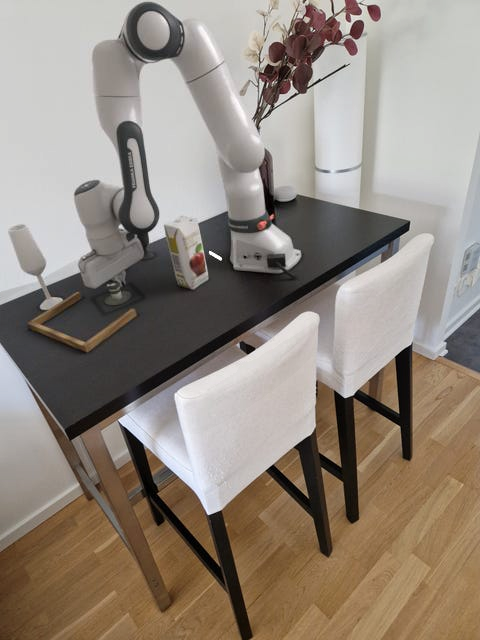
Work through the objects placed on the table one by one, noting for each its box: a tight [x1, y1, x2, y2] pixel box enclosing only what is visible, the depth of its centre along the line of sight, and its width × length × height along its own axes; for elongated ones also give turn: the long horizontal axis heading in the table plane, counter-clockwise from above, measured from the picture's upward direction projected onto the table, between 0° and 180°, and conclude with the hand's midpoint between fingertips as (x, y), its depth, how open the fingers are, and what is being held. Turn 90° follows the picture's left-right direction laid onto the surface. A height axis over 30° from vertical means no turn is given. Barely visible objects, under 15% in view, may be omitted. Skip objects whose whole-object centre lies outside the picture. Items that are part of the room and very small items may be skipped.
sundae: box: [137, 232, 155, 261], centre depth 141 cm, size 7×7×15 cm
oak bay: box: [26, 291, 138, 354], centre depth 115 cm, size 24×17×2 cm
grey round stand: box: [104, 281, 132, 307], centre depth 123 cm, size 12×12×5 cm
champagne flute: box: [7, 223, 64, 311], centre depth 120 cm, size 7×7×24 cm
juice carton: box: [163, 215, 209, 290], centre depth 121 cm, size 8×9×19 cm
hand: (121, 285), depth 125 cm, fingers closed
